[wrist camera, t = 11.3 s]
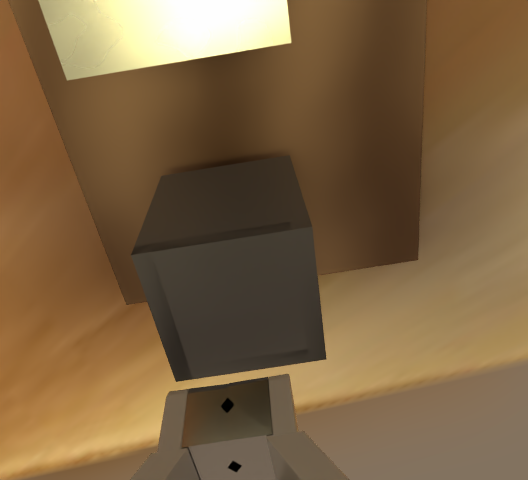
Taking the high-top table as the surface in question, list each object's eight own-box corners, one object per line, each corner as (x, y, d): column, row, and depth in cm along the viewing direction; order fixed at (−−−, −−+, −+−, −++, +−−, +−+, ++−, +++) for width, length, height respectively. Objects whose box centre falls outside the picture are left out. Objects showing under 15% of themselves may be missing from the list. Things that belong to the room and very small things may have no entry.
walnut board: (424, -270, 14) (436, -286, 13) (410, 249, 23) (417, 260, 22) (-49, -183, 14) (-68, -193, 13) (130, 293, 24) (126, 304, 23)
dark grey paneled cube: (289, 155, 18) (312, 226, 12) (302, 262, 20) (326, 359, 15) (161, 175, 18) (130, 255, 13) (190, 280, 20) (175, 381, 15)
